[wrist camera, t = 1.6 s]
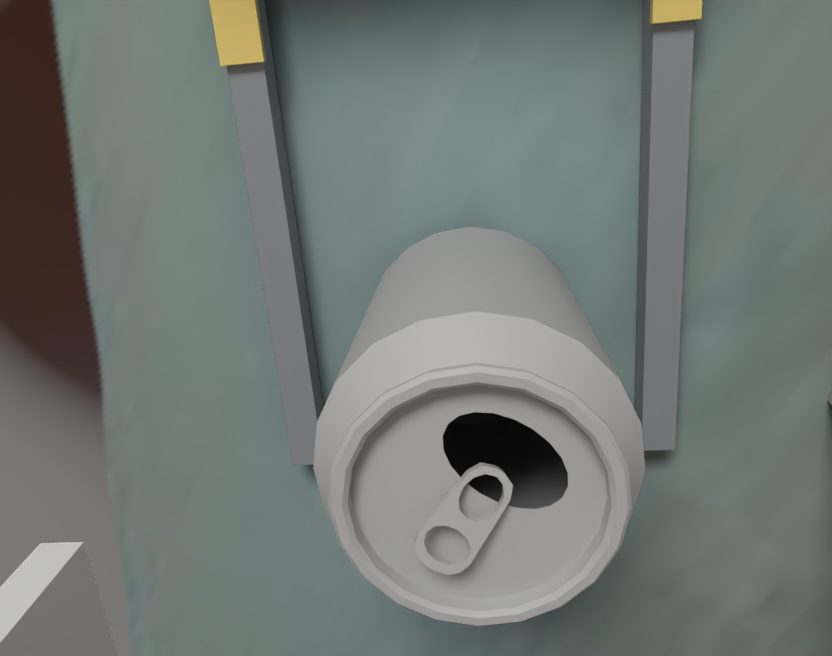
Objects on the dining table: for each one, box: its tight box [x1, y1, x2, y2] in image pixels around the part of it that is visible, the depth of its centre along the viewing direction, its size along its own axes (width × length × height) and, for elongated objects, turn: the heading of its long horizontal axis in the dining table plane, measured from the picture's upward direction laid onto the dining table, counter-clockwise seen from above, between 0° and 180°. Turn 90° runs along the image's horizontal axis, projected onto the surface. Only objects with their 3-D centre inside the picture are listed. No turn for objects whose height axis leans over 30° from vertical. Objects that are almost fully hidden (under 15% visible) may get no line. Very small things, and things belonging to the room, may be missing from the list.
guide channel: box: [209, 0, 702, 465], centre depth 20 cm, size 24×15×6 cm, turn 5°
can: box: [313, 227, 645, 626], centre depth 19 cm, size 8×8×12 cm
